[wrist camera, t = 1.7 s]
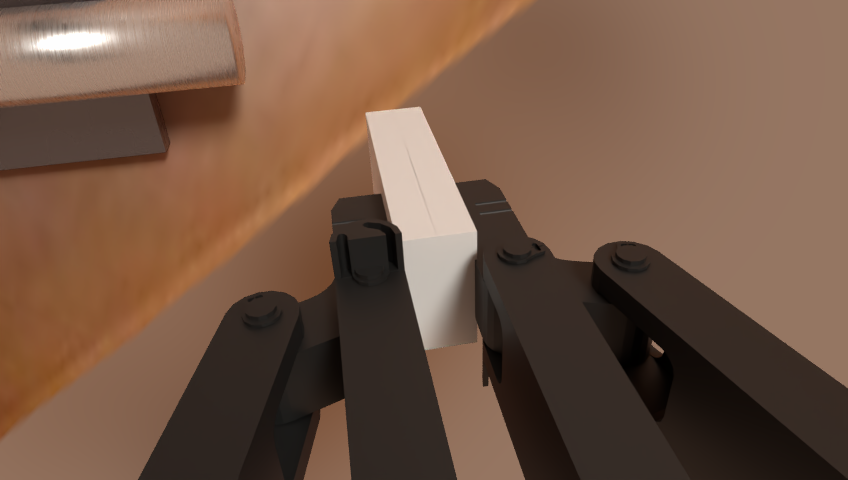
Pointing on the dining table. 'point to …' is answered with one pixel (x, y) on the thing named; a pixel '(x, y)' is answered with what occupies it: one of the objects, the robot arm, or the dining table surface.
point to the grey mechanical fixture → (79, 126)
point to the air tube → (117, 49)
